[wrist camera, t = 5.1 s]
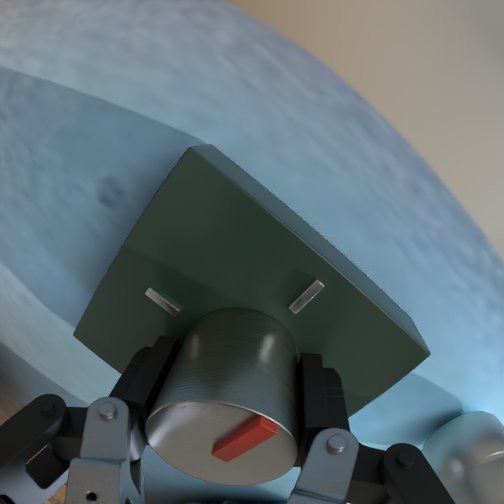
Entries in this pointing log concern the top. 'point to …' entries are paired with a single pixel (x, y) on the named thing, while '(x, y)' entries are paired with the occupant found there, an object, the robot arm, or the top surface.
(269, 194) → the panel
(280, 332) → the dial
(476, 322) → the top surface
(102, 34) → the top surface
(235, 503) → the bundt pan
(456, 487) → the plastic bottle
